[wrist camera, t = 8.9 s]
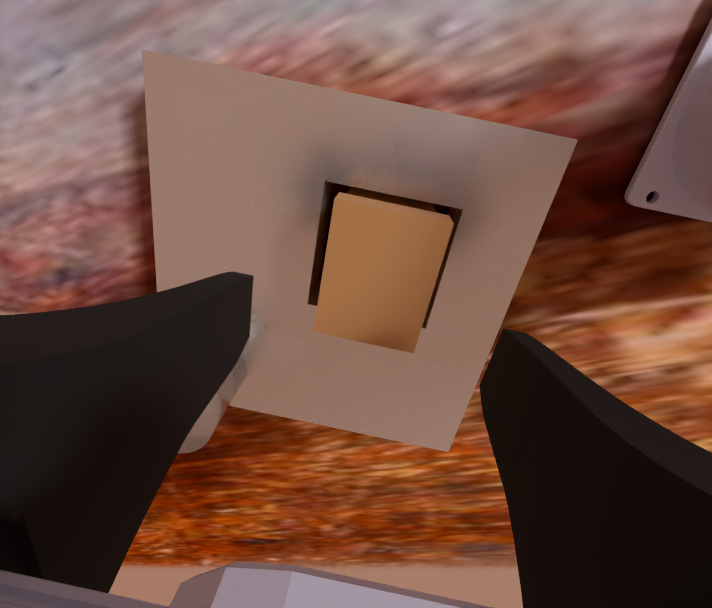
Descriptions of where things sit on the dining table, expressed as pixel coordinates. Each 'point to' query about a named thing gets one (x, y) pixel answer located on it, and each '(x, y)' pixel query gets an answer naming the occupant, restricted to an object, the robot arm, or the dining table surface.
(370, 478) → the dining table surface
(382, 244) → the tan chamfered block
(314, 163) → the grey slab with hole
